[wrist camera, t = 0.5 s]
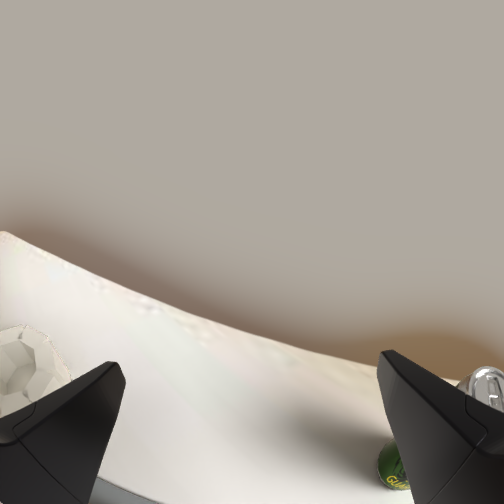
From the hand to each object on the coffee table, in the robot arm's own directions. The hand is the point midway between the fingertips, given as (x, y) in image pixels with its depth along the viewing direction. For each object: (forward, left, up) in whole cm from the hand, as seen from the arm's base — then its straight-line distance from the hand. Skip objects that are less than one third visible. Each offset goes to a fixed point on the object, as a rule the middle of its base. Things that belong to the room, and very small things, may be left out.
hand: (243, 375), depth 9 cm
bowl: (-1, +19, -15) cm, 24 cm away
